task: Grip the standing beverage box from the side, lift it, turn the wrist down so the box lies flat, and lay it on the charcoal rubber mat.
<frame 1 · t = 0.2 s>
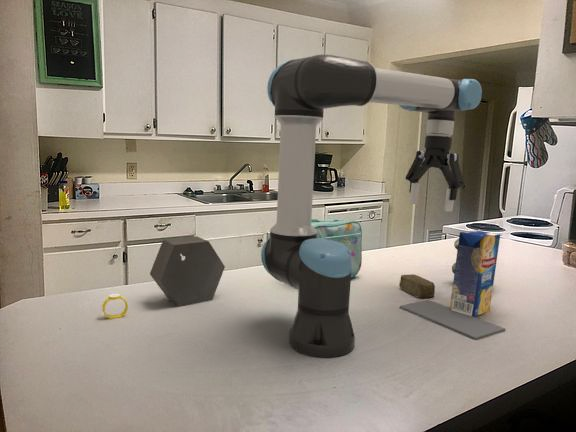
hand: (430, 207, 144), 27 cm above the counter, tool pointing down, fingers open, 13 cm apart
apothecary jar: (469, 287, 159), on the counter
stone block: (416, 294, 151), on the counter
lunch box: (325, 281, 160), on the counter
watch: (115, 317, 123), on the counter
mat: (449, 318, 130), on the counter
planter: (188, 300, 137), on the counter
beverage box: (469, 310, 136), on the counter, touching mat
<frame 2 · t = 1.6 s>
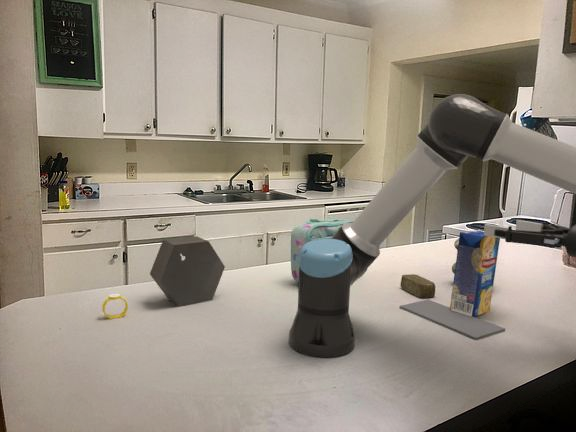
hand: (501, 227, 121), 26 cm above the counter, tool horizontal, fingers open, 13 cm apart
nothing on the counter moved.
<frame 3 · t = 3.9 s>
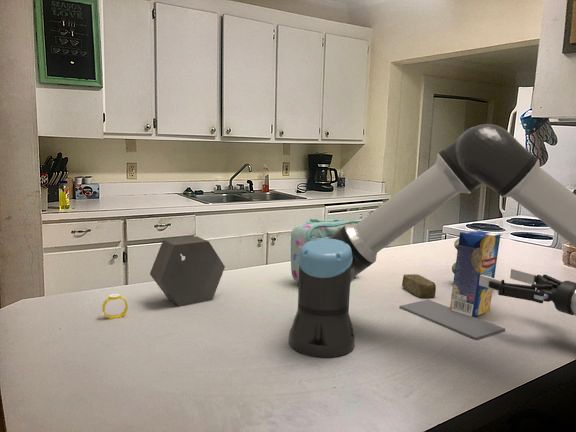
hand: (496, 276, 129), 12 cm above the counter, tool horizontal, fingers open, 13 cm apart
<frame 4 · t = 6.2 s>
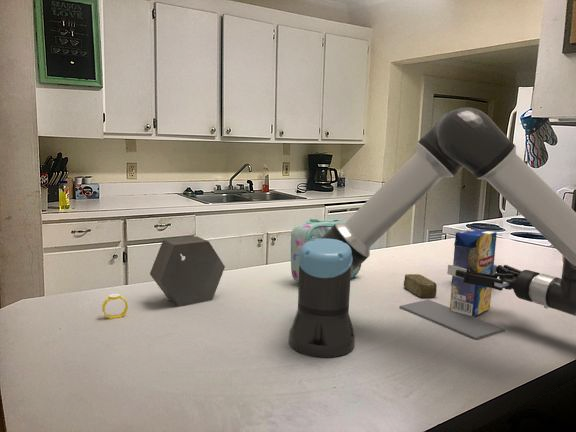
hand: (462, 266, 137), 12 cm above the counter, tool horizontal, fingers closed on beverage box, 11 cm apart
beverage box: (469, 309, 136), on the counter, touching gripper, mat
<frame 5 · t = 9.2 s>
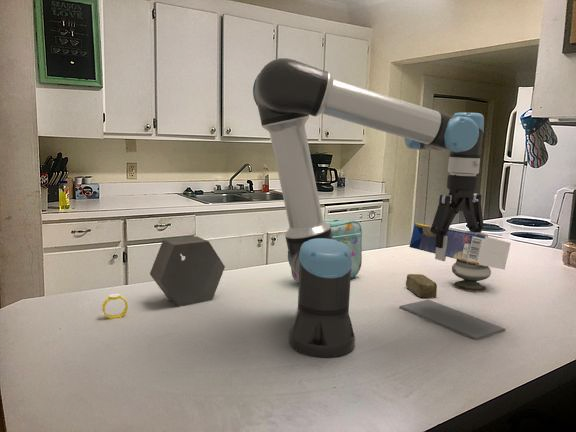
hand: (455, 257, 127), 17 cm above the counter, tool pointing down, fingers closed on beverage box, 11 cm apart
beverage box: (496, 253, 117), point 21 cm above the counter, touching gripper
when the fingers open (2 cm above the counter, at t = 12.6 s): beverage box drops 2 cm, resting on mat.
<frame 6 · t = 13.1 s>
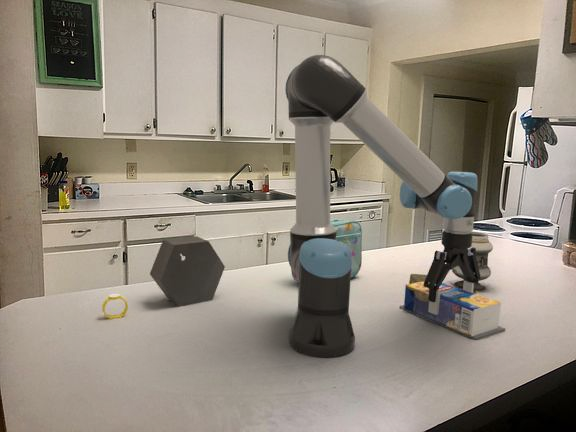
hand: (450, 309, 129), 3 cm above the counter, tool pointing down, fingers open, 13 cm apart
beverage box: (487, 319, 119), point 4 cm above the counter, touching mat
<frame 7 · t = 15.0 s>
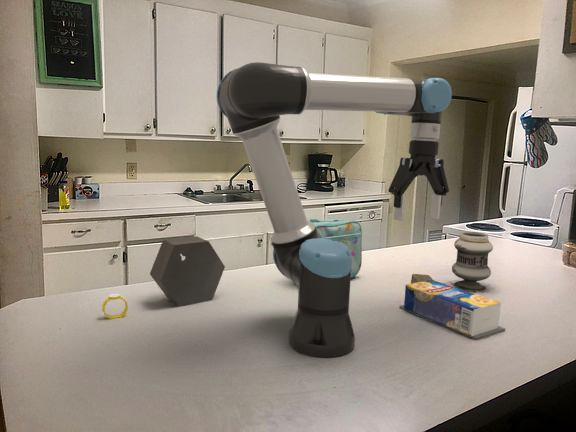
hand: (416, 219, 131), 26 cm above the counter, tool pointing down, fingers open, 13 cm apart
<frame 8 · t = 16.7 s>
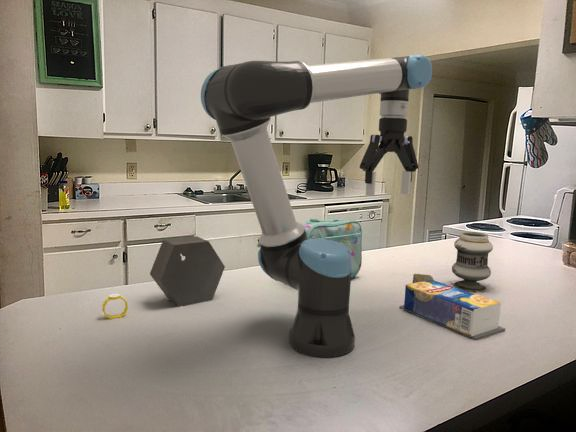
hand: (388, 194, 135), 32 cm above the counter, tool pointing down, fingers open, 13 cm apart
at the end: beverage box tilted 90°; beverage box inside the target area (10.9 cm from its centre), point 4.0 cm above the counter; the gripper is holding nothing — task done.
